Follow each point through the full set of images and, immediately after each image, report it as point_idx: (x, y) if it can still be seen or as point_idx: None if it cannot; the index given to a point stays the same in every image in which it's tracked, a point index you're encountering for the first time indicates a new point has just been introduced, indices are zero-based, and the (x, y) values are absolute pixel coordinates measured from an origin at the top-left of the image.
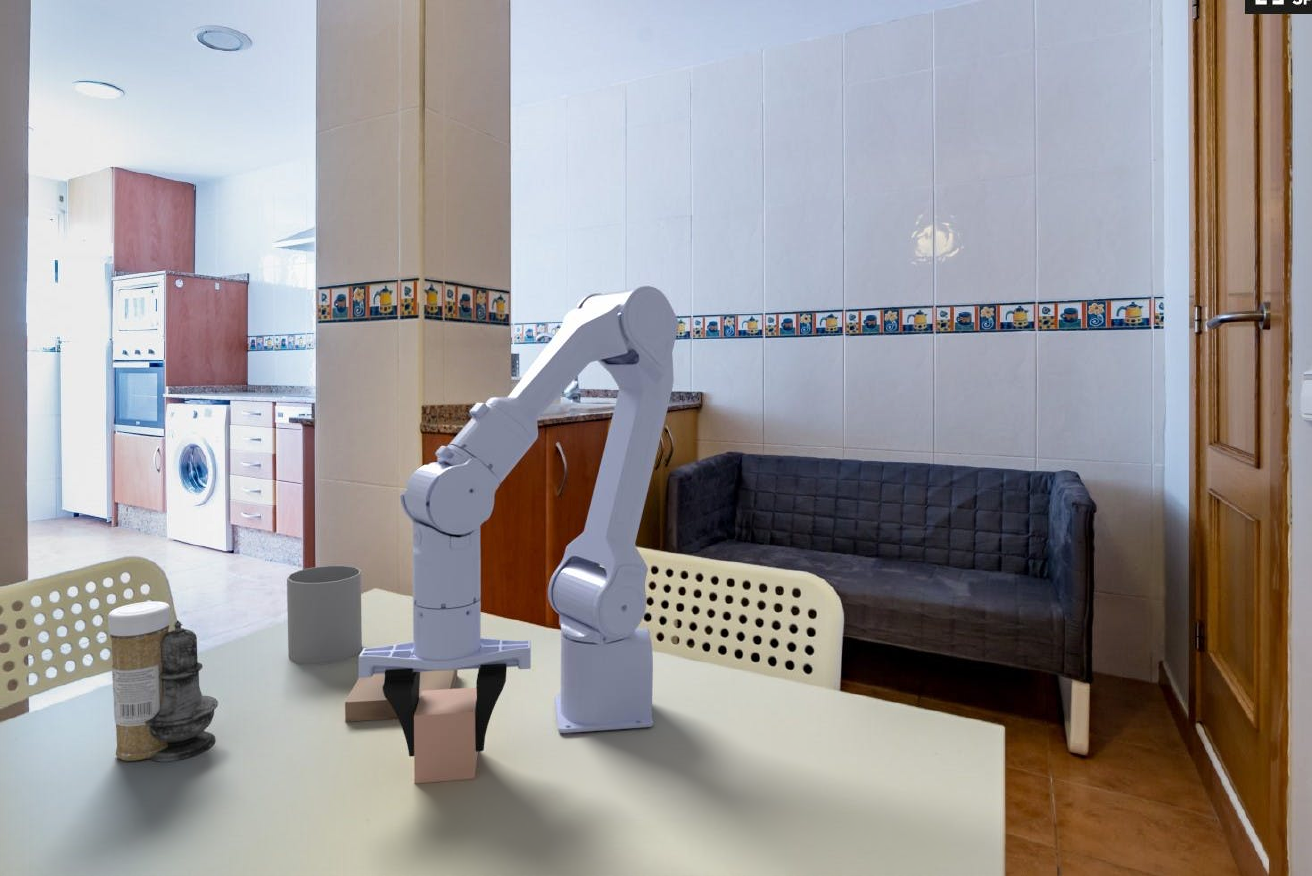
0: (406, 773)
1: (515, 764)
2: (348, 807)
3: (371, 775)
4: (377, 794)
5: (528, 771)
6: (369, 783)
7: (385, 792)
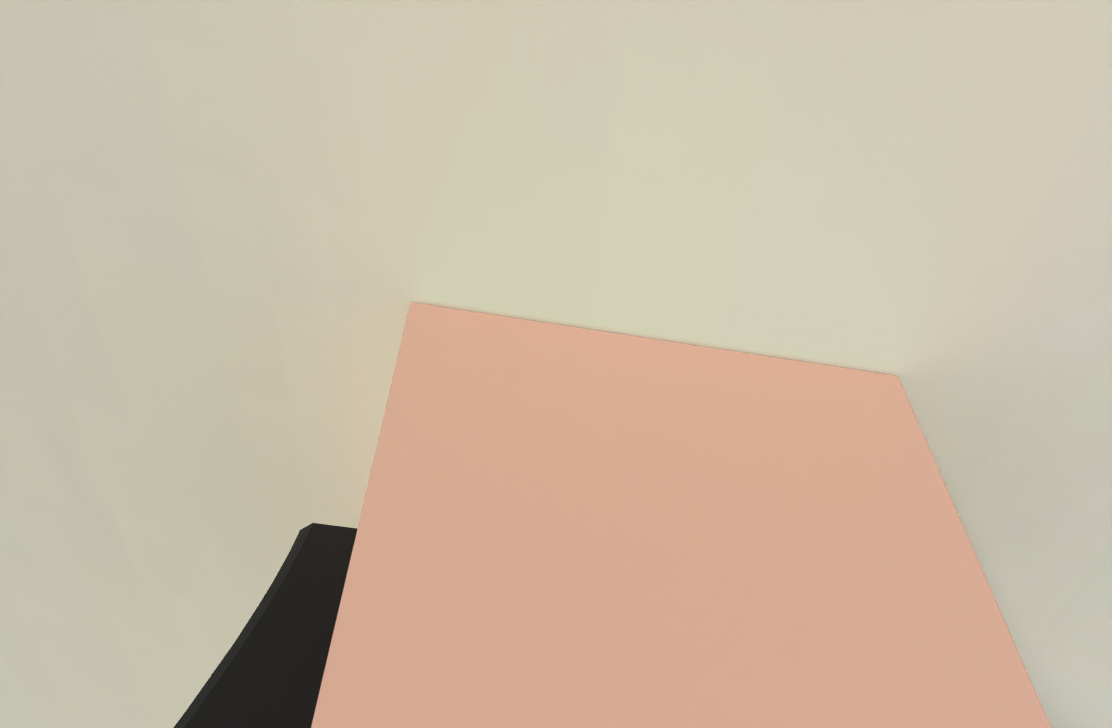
0: (305, 517)
1: (1068, 612)
2: (23, 709)
3: (42, 475)
4: (158, 656)
5: (1101, 688)
6: (64, 553)
7: (204, 652)
